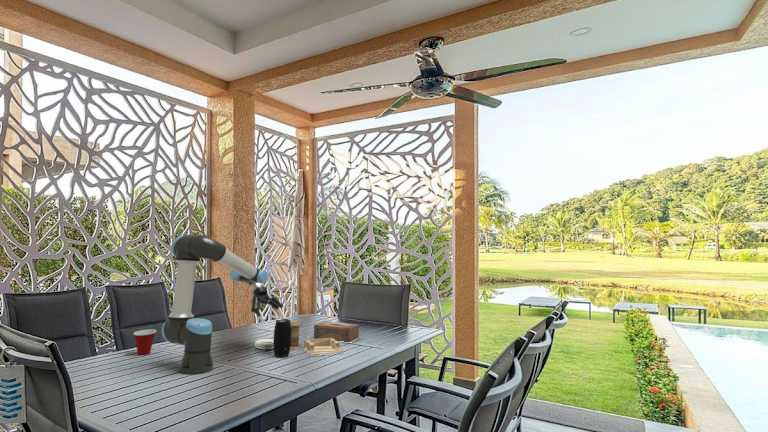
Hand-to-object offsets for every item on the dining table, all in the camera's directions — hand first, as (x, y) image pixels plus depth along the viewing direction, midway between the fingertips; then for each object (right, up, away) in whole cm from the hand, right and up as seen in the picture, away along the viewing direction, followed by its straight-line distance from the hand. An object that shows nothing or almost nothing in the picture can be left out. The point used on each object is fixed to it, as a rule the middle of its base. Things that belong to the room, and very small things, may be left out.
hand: (273, 319), depth 235 cm
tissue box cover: (+32, -23, +36) cm, 53 cm away
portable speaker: (+7, -19, -8) cm, 21 cm away
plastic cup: (-67, -16, -12) cm, 70 cm away
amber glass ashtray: (+27, -20, +4) cm, 34 cm away
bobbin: (+10, -20, +11) cm, 25 cm away
